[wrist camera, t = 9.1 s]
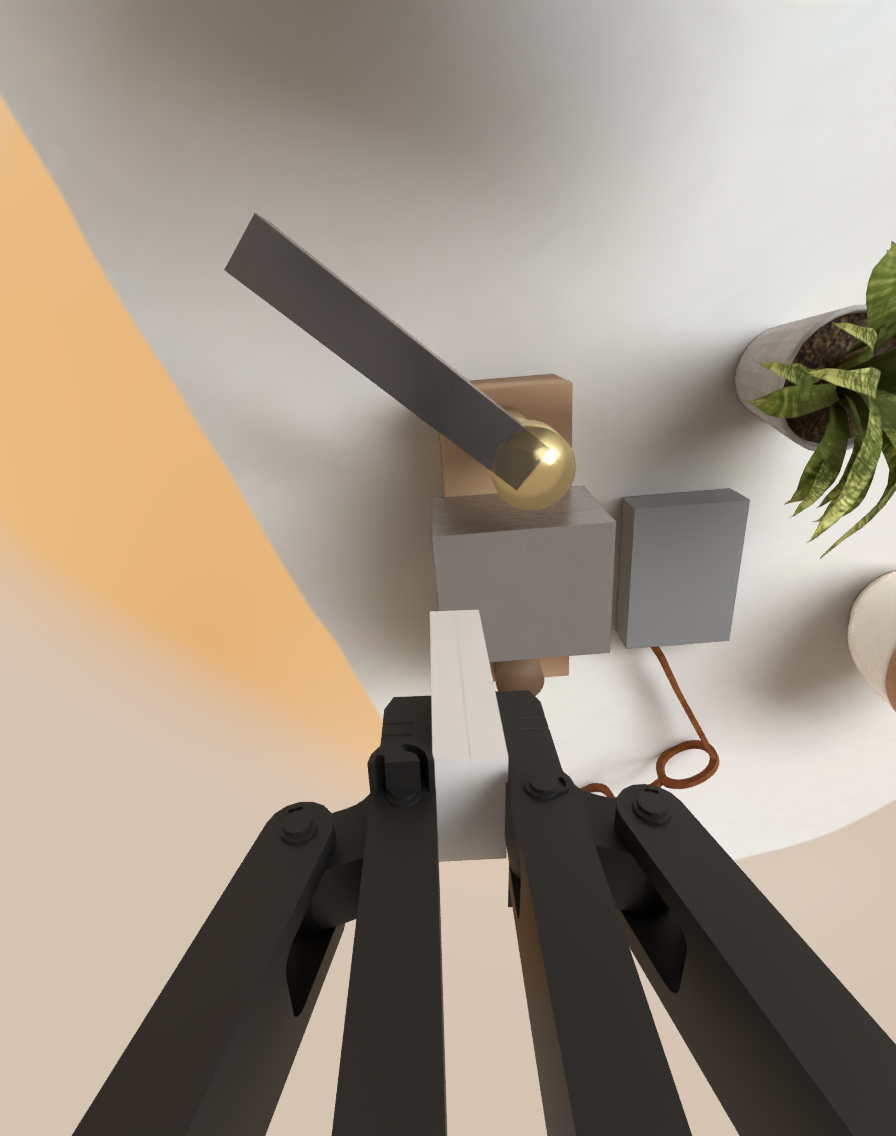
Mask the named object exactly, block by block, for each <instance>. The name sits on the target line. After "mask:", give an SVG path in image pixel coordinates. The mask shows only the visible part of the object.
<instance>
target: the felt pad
mask: <svg viewBox="0 0 896 1136" xmlns="http://www.w3.org/2000/svg"><path fill="white" fill-rule="evenodd" d="M749 503H750V500H749V499H748V498H746V497H744V496H742V495H741V494H739V493H737V492H735V491H734V490H732V489H717V490H705V491H693V492H681V493H669V494H656V495H644V496H632V497H622V513H621V533H620V553H619V572H618V592H617V611H616V632H617V634H618V635H619V637H620V639H621V640H622V642H623V644H624V646H625V647H626V649H631V648H643V647H656V646H668V645H681V644H694V643H706V642H719V641H729V638H730V631H731V625H732V618H733V611H734V604H735V597H736V591H737V584H738V577H739V570H740V564H741V557H742V550H743V543H744V536H745V530H746V523H747V516H748V509H749Z"/></svg>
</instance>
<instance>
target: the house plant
mask: <svg viewBox="0 0 896 1136" xmlns="http://www.w3.org/2000/svg"><path fill="white" fill-rule="evenodd" d="M735 386H736V392H737V395H738V397H739V399H740V401H741V402H742V403H743V405H744V406H745V407H746V408H747V409H748V410H750V411H751V412H753V413H754V414H755V415H757V416H758V417H760V418H761V419H762V420H764V421H765V422H767V423H768V424H770V425H771V426H772V427H774V428H775V429H777V430H778V431H779V432H781V433H782V434H784V435H785V436H786V437H788V438H789V439H791V440H792V441H793V442H795V443H797V444H799V445H800V446H802V447H804V448H806V449H807V450H812V451H815V452H814V454H813V455H812V457H811V458H810V460H809V462H808V463H807V465H806V467H805V469H804V471H803V474H802V476H801V478H800V481H799V485H798V488H797V490H796V492H795V493H794V495H793V497H792V498H791V500H790V501H788V502H786V503H785V504H788V503H792V502H796V501H802V500H803V501H802V502H801V503H800V504H799V506H798V507H797V509H796V511H795V513H794V515H793V516H795V515H796V514H798V513H799V512H801V511H802V510H804V509H806V508H807V507H809V506H810V505H811V504H813V503H814V502H815V501H816V500H817V499H818V498H820V497H821V496H822V495H823V493H824V492H825V491H826V490H827V489H828V488H829V487H830V486H831V485H832V484H833V483H834V482H835V480H836V478H837V476H838V474H839V472H840V470H841V467H842V463H843V460H844V457H845V453H846V450H848V449H851V448H853V452H852V455H851V457H850V460H849V462H848V464H847V467H846V469H845V471H844V474H843V476H842V478H841V480H840V481H839V483H838V485H837V486H836V487H835V488H834V489H833V490H832V491H831V492H830V493H829V494H828V495H827V496H826V497H825V498H824V500H823V501H822V503H821V504H820V506H819V507H821V506H823V505H824V504H826V503H828V502H829V501H831V500H832V499H833V500H832V501H831V503H830V504H829V506H828V507H827V509H826V511H825V513H824V514H823V516H822V517H821V518H820V519H818V520H817V521H821V522H820V523H819V525H818V527H817V529H816V531H815V533H814V535H813V536H812V538H811V540H810V541H812V540H813V539H815V538H817V537H818V536H819V535H820V534H822V533H823V532H824V531H825V530H827V529H828V528H829V527H830V526H832V525H833V524H834V523H836V522H837V521H838V520H839V519H840V518H841V517H842V516H844V515H846V514H848V513H850V512H851V511H853V510H854V509H855V508H856V507H858V506H859V505H860V503H861V502H862V501H863V499H864V498H865V496H866V494H867V492H868V490H869V487H870V485H871V482H872V480H873V477H874V473H875V469H876V465H877V462H878V460H879V457H880V453H881V450H882V452H883V454H884V456H885V459H886V461H887V464H888V467H889V469H890V470H889V478H888V485H887V487H886V489H885V491H884V493H883V496H882V498H881V499H880V501H879V502H878V503H877V505H876V506H875V507H874V508H873V509H872V510H871V511H870V512H869V513H868V514H867V515H866V516H864V517H863V518H862V519H861V520H860V521H859V522H858V523H857V524H856V525H854V526H853V527H852V528H851V529H850V530H849V531H848V532H846V533H845V534H844V535H843V536H842V537H841V538H840V539H839V540H838V541H837V542H836V543H834V544H833V545H832V546H831V547H830V548H829V549H828V550H827V551H826V552H825V553H824V554H823V555H822V556H821V558H822V557H823V556H824V555H825V554H827V553H828V552H829V551H831V550H832V549H833V548H834V547H836V546H837V545H838V544H839V543H841V542H842V541H843V540H845V539H846V538H847V537H849V536H850V535H852V534H853V533H855V532H856V531H858V530H859V529H861V528H862V527H863V526H864V525H866V524H867V523H868V522H869V521H870V520H871V519H872V518H873V517H874V516H875V515H876V514H877V513H878V512H879V511H880V510H881V509H882V508H883V507H884V506H885V505H886V503H887V502H888V500H889V499H890V498H891V496H892V495H893V493H894V492H895V491H896V244H895V243H894V242H892V243H891V249H890V250H889V251H888V250H887V253H886V255H885V256H884V257H883V258H882V259H881V260H880V262H879V263H878V264H877V265H876V266H875V267H874V268H873V271H872V274H871V276H870V279H869V281H868V286H867V292H866V305H854V306H850V307H846V308H843V309H839V310H835V311H832V312H828V313H824V314H820V315H817V316H813V317H809V318H806V319H802V320H798V321H795V322H791V323H787V324H784V325H780V326H777V327H774V328H771V329H768V330H767V331H765V332H764V333H762V334H761V335H759V336H757V337H756V338H755V339H754V340H753V341H752V342H751V343H750V344H749V345H748V347H747V348H746V350H745V351H744V353H743V354H742V356H741V358H740V360H739V363H738V366H737V368H736V375H735ZM783 505H784V504H783ZM817 508H818V507H817ZM793 516H791V517H793ZM817 521H813V522H817ZM810 541H808V542H810ZM821 558H820V559H821Z"/></svg>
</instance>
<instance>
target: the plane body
mask: <svg viewBox="0 0 896 1136" xmlns="http://www.w3.org/2000/svg"><path fill="white" fill-rule="evenodd" d="M469 382H471V383H472V384H473V385H474V386H476V387H477V388H478V389H479V390H481V391H482V392H483V393H484V394H486V395H487V396H488V397H489V398H491V399H492V400H493V401H494V402H496V403H497V404H498V405H499V406H501V407H502V408H503V409H504V410H506V411H507V412H508V413H509V414H511V415H512V416H513V417H514V418H516V419H517V420H518V421H523V420H535V421H540V422H543V423H545V424H547V425H549V426H550V427H552V428H553V429H554V430H555V431H556V432H557V433H558V434H560V435H561V436H562V437H563V438H564V439H565V440H566V441H567V443H568V444H569V445H570V447H571V448H572V382H570V381H567V380H565V379H563V378H561V377H559V376H557V375H554V374H546V375H534V376H522V377H510V378H498V379H486V380H474V381H469ZM439 436H440V448H441V460H442V472H443V484H444V496H445V497H454V496H466V495H478V494H490V493H498V492H497V491H496V489H495V487H494V484H493V481H492V479H491V476H490V473H489V469H487V468H486V467H485V466H483V465H482V464H481V463H479V462H478V461H477V460H475V459H474V458H473V457H471V456H470V455H469V454H467V453H466V452H465V451H464V450H462V449H461V448H460V447H458V446H457V445H456V444H454V443H453V442H452V441H450V440H449V439H448V438H446V437H445V436H444V435H442V434H441V433H440V432H439ZM570 487H571V486H570ZM489 663H490V668H491V673H492V678H493V681H496V686H497V689H498V691H521V690H529V691H530V692H531V693H532V694H533V695H534V696H536V695H537V694H538V693H539V692H540V691H541V689H542V688H543V685H544V677H555V676H567V675H569V656H562V657H550V658H537V659H524V660H512V661H499V662H489Z"/></svg>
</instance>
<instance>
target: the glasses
mask: <svg viewBox="0 0 896 1136" xmlns="http://www.w3.org/2000/svg"><path fill="white" fill-rule="evenodd" d="M651 649H652V650H653V652H654V653H655V655H656V656H657V658H658V659H659V661H660V663H661V665H662V667H663V669H664V671H665V673H666V675H667V677H668V679H669V682H670V684H671V686H672V688H673V690H674V692H675V693H676V695H677V697H678V699H679V701H680V703H681V704H682V706H683V708H684V710H685V712H686V713H687V715H688V717H689V719H690V721H691V723H692V724H693V726H694V728H695V730H696V732H697V734H698V735H699V737H700V739H701V741H700V740H691V741H686V742H683V743H681V744H679V745H676V746H674V747H672V748H670V749H668V750H666V751H665V752H664V753H663V754H661V756H660V757H659V758H658V760H657V762H656V770H657V775H658V779H657V780H655V781H654V782H653V783H651V784H649V785H652V786H657V787H661V786H662V785H664V786H665V787H667V788H672V789H684V788H689V787H693V786H696V785H698V784H700V783H702V782H704V781H706V780H707V779H709V778H710V777H711V776H712V775H713V774H714V773H715V772H716V771H717V769H718V766H719V756H718V755H717V753H716V751H715V749H714V748H713V747H712V746H711V745H710V744H709V742H708V740H707V739H706V737H705V735H704V733H703V731H702V729H701V728H700V726H699V724H698V722H697V720H696V718H695V717H694V715H693V713H692V711H691V709H690V707H689V706H688V704H687V702H686V700H685V698H684V696H683V695H682V693H681V691H680V689H679V687H678V684H677V682H676V680H675V678H674V675H673V673H672V671H671V669H670V667H669V664H668V662H667V660H666V658H665V656H664V654H663V652H662V651H661V649H660V648H659V647H658V646H656V647H651ZM688 749H702V750H704V751H706V752H707V753H708V754H709V756H710V762H709V764H708V766H707V767H706V768H705V769H704V770H703V771H702V772H700V773H699V774H697V775H695V776H693V777H690V778H687V779H681V780H676V779H671V778H668V777H667V776H666V775H665V770H664V768H665V764H666V762H667V761H668V760H669V759H670V758H671V757H672V756H674V755H675V754H677V753H679V752H682V751H684V750H688ZM581 789H582V790H584V791H586V792H588V793H591V792H602V793H604V794H605V795H606V796H607V797H609V798H614V799H617V797H614V795H613V793H612V792H611V790H610V789H609V788H608V787H607V786H606V785H604V784H600V783H595V784H590V785H587V786H585V787H583V788H581Z"/></svg>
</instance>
